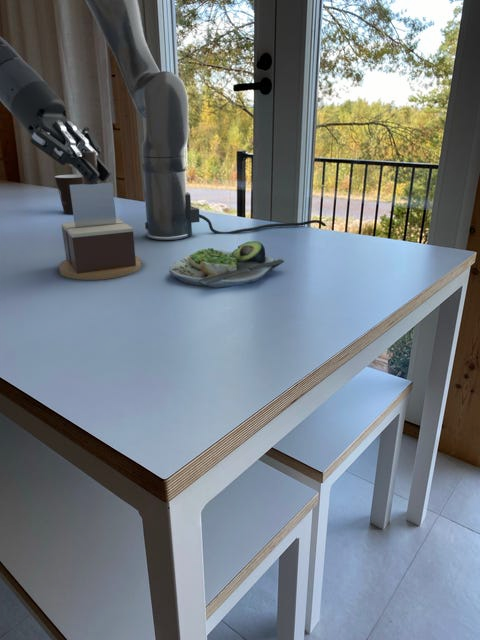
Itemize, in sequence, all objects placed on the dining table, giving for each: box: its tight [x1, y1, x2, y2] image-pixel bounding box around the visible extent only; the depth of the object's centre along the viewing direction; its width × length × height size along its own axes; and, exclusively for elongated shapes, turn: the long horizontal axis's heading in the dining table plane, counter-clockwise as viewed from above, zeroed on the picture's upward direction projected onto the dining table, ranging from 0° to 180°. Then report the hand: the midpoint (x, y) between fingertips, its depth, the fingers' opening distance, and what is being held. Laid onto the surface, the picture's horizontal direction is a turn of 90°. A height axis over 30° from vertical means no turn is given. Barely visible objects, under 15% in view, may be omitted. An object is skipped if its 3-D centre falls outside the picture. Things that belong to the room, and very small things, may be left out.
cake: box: [58, 217, 142, 281], centre depth 83 cm, size 14×14×8 cm
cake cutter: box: [70, 151, 117, 227], centre depth 79 cm, size 7×3×12 cm, turn 118°
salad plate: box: [168, 240, 285, 289], centre depth 80 cm, size 19×18×5 cm
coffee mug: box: [54, 174, 83, 216], centre depth 135 cm, size 12×9×10 cm
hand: (101, 178), depth 78 cm, fingers closed on cake cutter, 2 cm apart
